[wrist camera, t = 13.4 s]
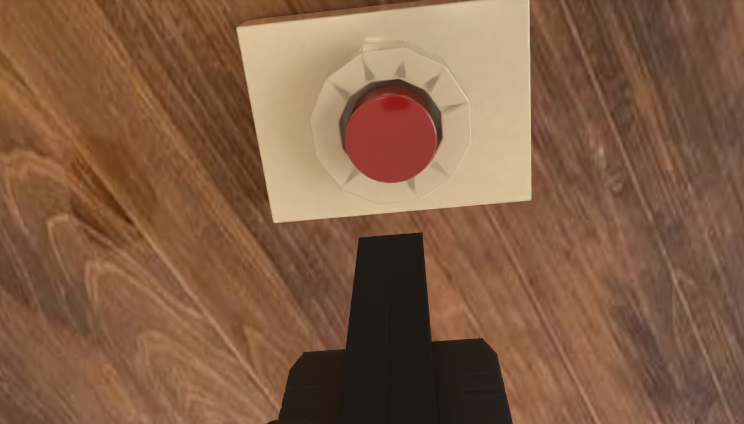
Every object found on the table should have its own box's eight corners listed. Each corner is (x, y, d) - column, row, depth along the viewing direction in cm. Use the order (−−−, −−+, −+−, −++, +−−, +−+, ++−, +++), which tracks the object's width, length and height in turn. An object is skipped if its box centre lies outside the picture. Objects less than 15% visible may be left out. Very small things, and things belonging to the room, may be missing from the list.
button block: (519, -11, 28) (539, -1, 24) (523, 183, 31) (540, 217, 28) (246, 19, 28) (225, 34, 25) (280, 205, 32) (266, 241, 28)
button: (431, 80, 26) (433, 90, 24) (437, 164, 27) (440, 179, 26) (342, 89, 26) (339, 99, 24) (353, 172, 27) (350, 187, 26)
